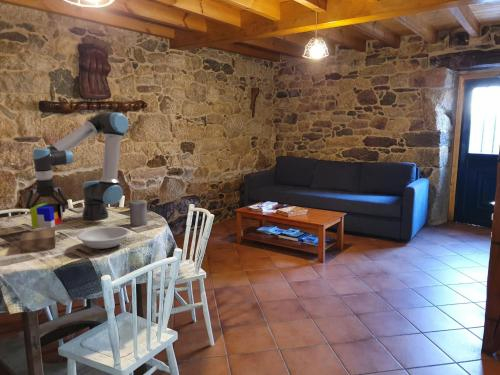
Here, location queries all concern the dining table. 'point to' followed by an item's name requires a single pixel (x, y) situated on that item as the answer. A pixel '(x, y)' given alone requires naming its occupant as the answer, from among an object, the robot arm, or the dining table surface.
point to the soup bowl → (103, 237)
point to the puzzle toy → (46, 215)
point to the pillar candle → (138, 212)
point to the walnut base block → (37, 241)
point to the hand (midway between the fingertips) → (48, 219)
